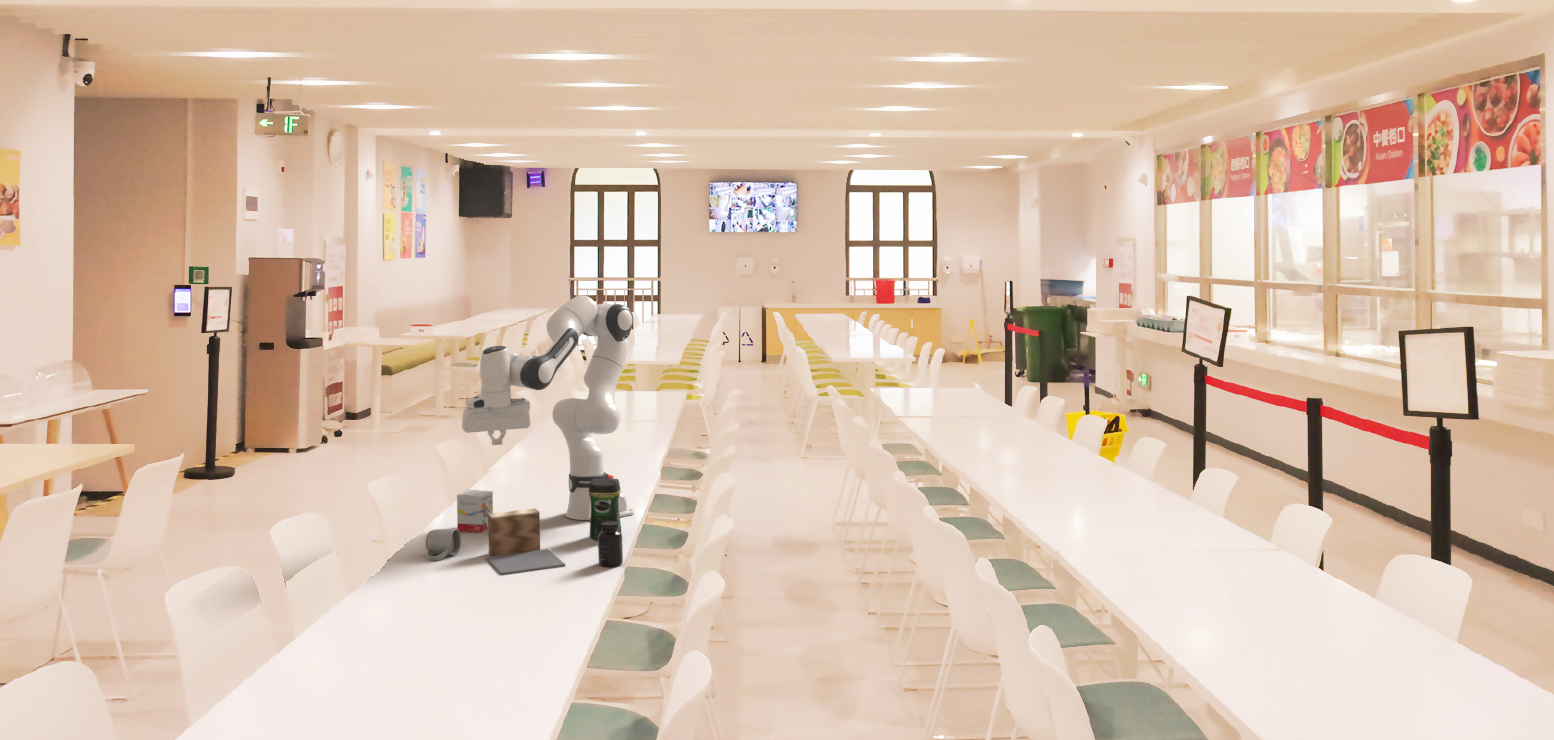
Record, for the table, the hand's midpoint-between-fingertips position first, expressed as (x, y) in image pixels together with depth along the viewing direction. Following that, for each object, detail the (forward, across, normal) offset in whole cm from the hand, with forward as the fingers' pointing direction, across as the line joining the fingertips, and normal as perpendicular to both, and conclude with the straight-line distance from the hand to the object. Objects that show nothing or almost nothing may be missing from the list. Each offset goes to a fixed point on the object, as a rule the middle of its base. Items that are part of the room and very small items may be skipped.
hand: (497, 444), depth 331 cm
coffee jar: (+29, -29, +15) cm, 44 cm away
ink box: (+29, +4, -14) cm, 33 cm away
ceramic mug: (+29, +20, +12) cm, 37 cm away
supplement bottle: (+29, -21, +42) cm, 55 cm away
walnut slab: (+29, 0, +18) cm, 34 cm away
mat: (+29, 0, +30) cm, 41 cm away
